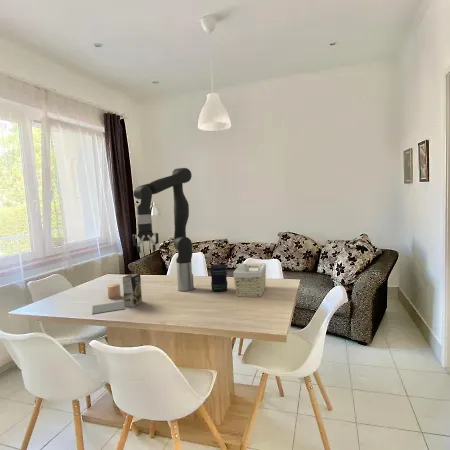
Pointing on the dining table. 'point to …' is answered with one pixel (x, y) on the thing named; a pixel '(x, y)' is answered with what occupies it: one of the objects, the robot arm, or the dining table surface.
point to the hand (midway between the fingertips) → (146, 252)
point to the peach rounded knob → (114, 291)
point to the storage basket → (250, 279)
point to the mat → (108, 307)
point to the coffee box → (132, 290)
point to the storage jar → (218, 278)
